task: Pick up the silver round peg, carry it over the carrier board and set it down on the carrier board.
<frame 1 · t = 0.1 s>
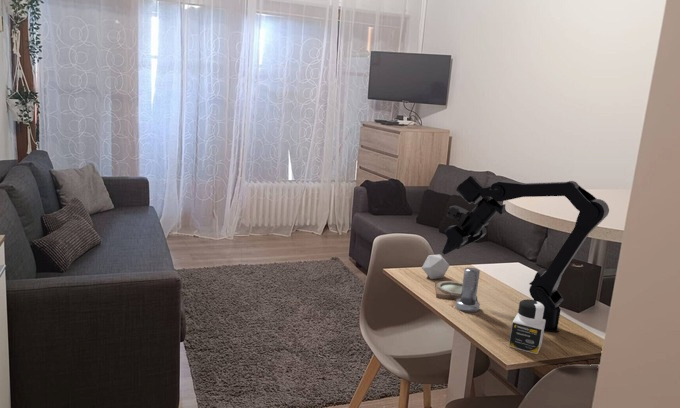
hand: (450, 250, 172), 15 cm above the table, tool tilted 35°, fingers open, 9 cm apart
medicine bottle: (525, 346, 144), on the table
carrier board: (454, 293, 179), on the table
die: (434, 277, 193), on the table
silver round peg: (467, 308, 167), on the table
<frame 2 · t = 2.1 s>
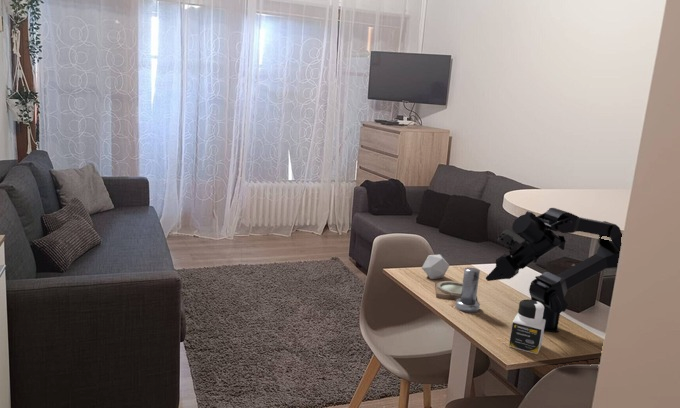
hand: (492, 275, 161), 12 cm above the table, tool tilted 45°, fingers open, 9 cm apart
nothing on the table moved.
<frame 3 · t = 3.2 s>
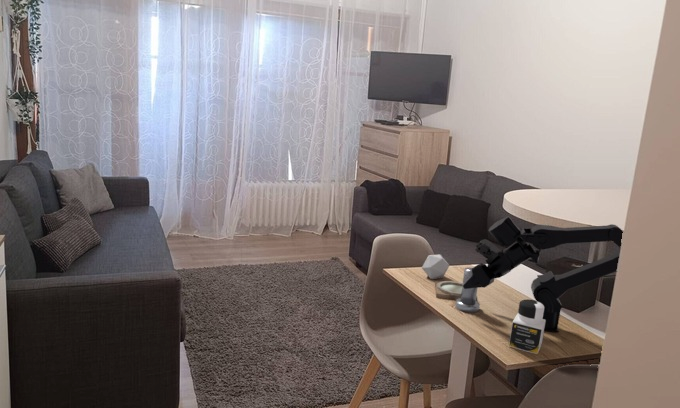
hand: (470, 283, 165), 8 cm above the table, tool tilted 45°, fingers open, 9 cm apart
nothing on the table moved.
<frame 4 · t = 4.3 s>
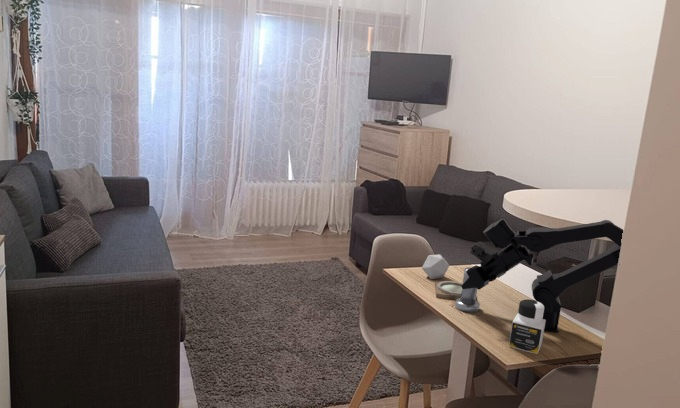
hand: (465, 285, 166), 7 cm above the table, tool tilted 45°, fingers closed on silver round peg, 4 cm apart
silver round peg: (466, 308, 167), on the table, touching gripper
everything else where it was.
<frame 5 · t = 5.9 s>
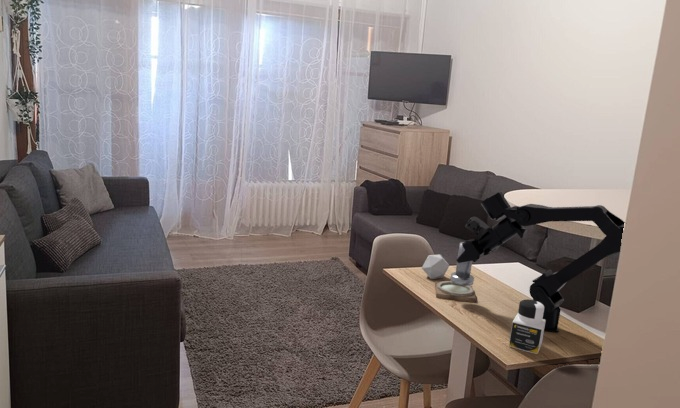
hand: (460, 259, 171), 13 cm above the table, tool tilted 45°, fingers closed on silver round peg, 4 cm apart
silver round peg: (461, 281, 171), point 6 cm above the table, touching gripper
everything else where it was.
when the fingers open (9 cm above the table, at t = 7.5 s): silver round peg drops 1 cm, resting on carrier board.
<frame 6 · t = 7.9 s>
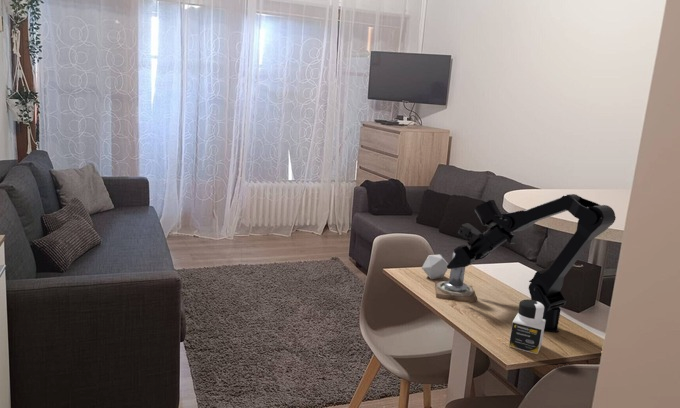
hand: (453, 264, 178), 9 cm above the table, tool tilted 45°, fingers open, 9 cm apart
silver round peg: (455, 289, 178), point 1 cm above the table, touching carrier board
everything else where it was.
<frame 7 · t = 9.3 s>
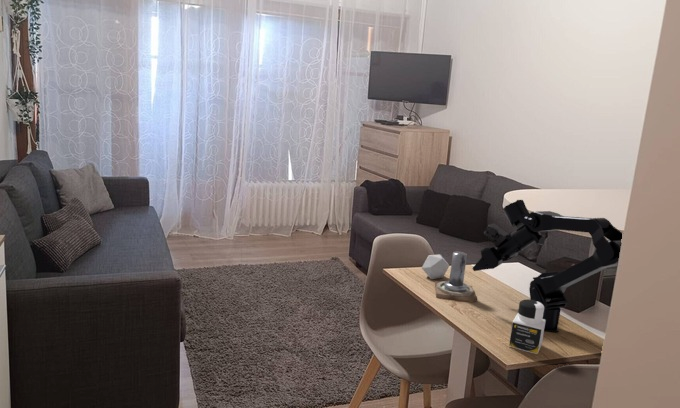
hand: (479, 266, 173), 11 cm above the table, tool tilted 45°, fingers open, 9 cm apart
nothing on the table moved.
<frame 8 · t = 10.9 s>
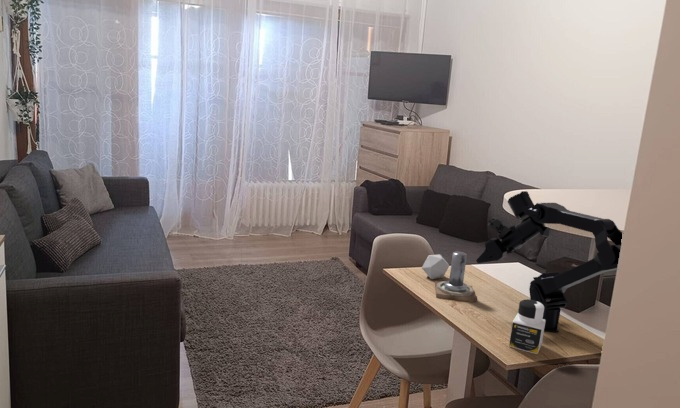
hand: (482, 258, 171), 14 cm above the table, tool tilted 45°, fingers open, 9 cm apart
nothing on the table moved.
at the end: silver round peg inside the target area (0.1 cm from its centre), point 1.3 cm above the table; silver round peg tilted 0°; the gripper is holding nothing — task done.
